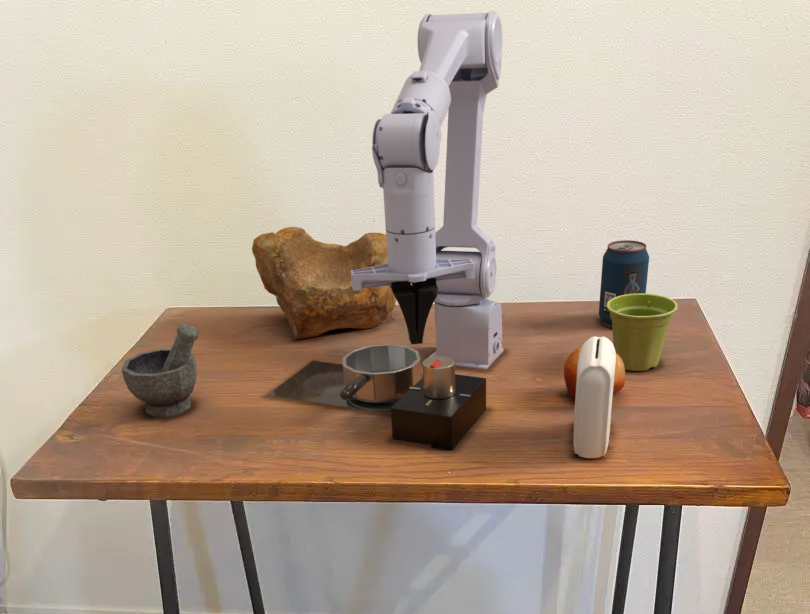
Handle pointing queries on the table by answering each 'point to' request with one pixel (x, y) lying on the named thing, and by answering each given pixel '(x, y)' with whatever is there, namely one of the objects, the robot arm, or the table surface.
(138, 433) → the table surface
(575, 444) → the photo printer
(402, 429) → the box
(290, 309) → the rough brown rock
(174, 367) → the mortar and pestle
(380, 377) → the saucepan
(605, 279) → the soda can
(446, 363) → the knob
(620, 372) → the fruit
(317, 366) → the hob
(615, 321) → the plant pot
